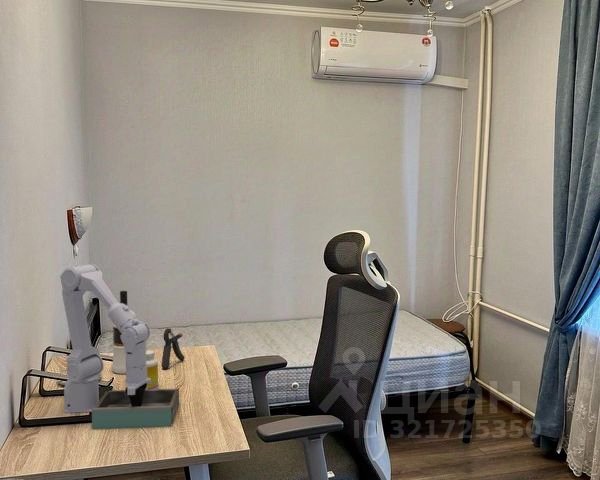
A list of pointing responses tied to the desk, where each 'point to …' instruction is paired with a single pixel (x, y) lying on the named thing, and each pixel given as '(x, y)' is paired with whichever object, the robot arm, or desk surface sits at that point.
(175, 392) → the box
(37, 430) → the desk surface
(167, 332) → the hand grip strengthener
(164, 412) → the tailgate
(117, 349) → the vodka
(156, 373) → the supplement bottle
